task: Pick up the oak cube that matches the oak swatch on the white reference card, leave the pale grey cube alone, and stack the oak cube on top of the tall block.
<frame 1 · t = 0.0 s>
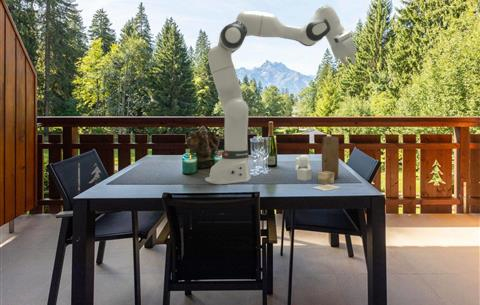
hand: (350, 64, 181), 54 cm above the table, tool tilted 30°, fingers open, 8 cm apart
white figurine: (302, 169, 207), on the table
grey cube: (304, 179, 180), on the table
reference card: (326, 187, 162), on the table
oak cube: (325, 183, 171), on the table
block: (329, 177, 184), on the table
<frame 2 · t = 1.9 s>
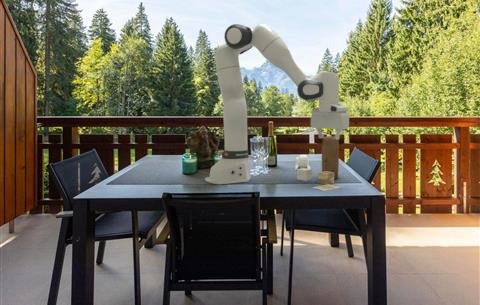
hand: (328, 138, 169), 20 cm above the table, tool pointing down, fingers open, 8 cm apart
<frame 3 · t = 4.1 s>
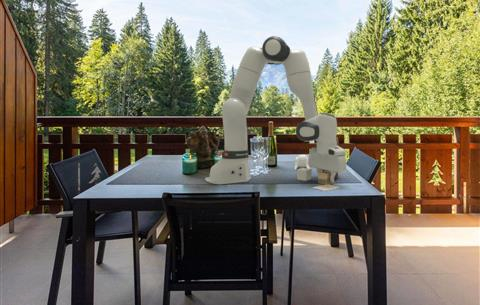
hand: (325, 179, 171), 2 cm above the table, tool pointing down, fingers closed on oak cube, 5 cm apart
oak cube: (325, 183, 171), on the table, touching gripper
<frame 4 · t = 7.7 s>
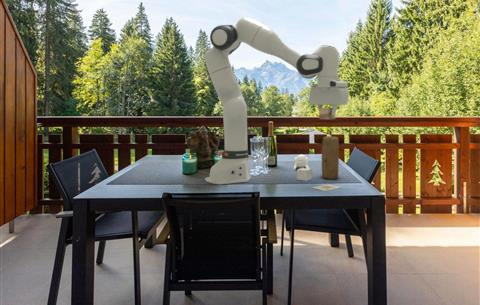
hand: (327, 115, 167), 31 cm above the table, tool pointing down, fingers closed on oak cube, 5 cm apart
oak cube: (327, 119, 167), point 29 cm above the table, touching gripper
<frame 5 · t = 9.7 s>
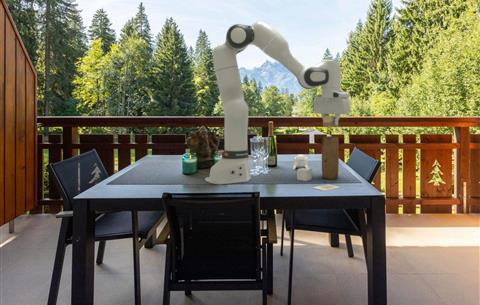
hand: (330, 123, 180), 26 cm above the table, tool pointing down, fingers closed on oak cube, 5 cm apart
oak cube: (330, 126, 181), point 25 cm above the table, touching gripper
when the fingers open (23 cm above the table, at t = 11.1 s): oak cube drops 1 cm, resting on block.
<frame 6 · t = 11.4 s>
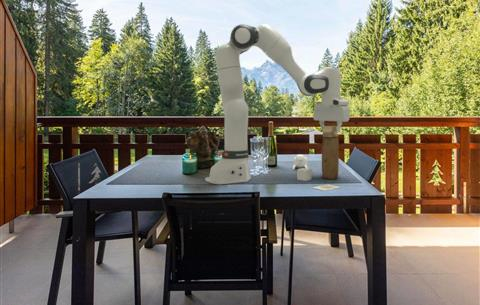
hand: (330, 130, 181), 23 cm above the table, tool pointing down, fingers open, 8 cm apart
oak cube: (330, 136, 181), point 20 cm above the table, touching block
block: (329, 177, 184), on the table, touching oak cube
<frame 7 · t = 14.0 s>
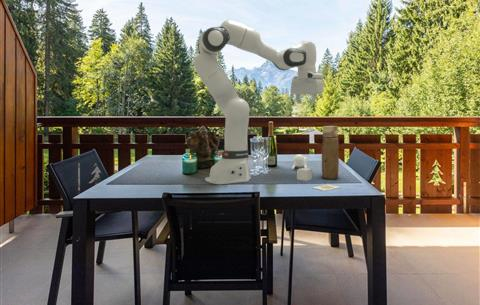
hand: (305, 103, 189), 36 cm above the table, tool pointing down, fingers open, 8 cm apart
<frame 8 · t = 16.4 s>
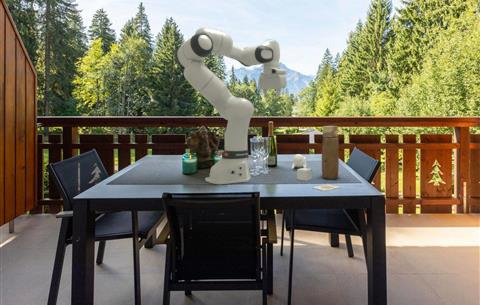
hand: (271, 97, 203), 39 cm above the table, tool pointing down, fingers open, 8 cm apart
at the end: oak cube 0.0 cm off-centre on the block, point 20.2 cm above the block's base; oak cube touching block; block tilted 0° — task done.
